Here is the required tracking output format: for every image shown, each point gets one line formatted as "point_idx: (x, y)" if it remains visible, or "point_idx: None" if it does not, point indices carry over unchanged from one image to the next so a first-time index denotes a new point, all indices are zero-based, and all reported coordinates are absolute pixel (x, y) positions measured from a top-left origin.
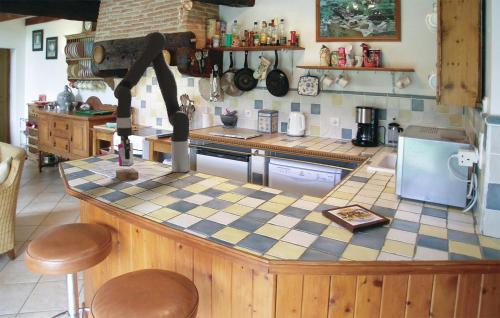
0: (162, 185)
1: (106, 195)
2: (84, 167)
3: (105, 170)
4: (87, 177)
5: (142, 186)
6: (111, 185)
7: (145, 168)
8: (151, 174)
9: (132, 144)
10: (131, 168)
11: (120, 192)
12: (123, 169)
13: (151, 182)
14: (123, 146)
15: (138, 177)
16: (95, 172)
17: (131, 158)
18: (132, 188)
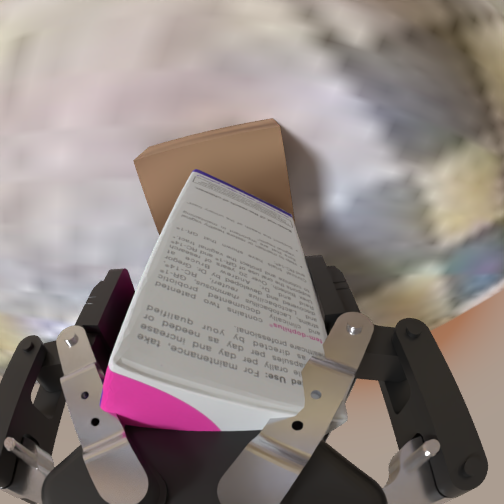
0: (467, 44)
1: (460, 291)
2: (17, 344)
3: (43, 288)
4: None
5: (446, 139)
6: (352, 277)
7: (13, 77)
8: (179, 19)
9: (133, 336)
10: (139, 170)
11: (464, 247)
12: (158, 229)
13: (399, 66)
14: (330, 432)
15: (274, 120)
16: None
17: (249, 223)
18: (450, 193)
